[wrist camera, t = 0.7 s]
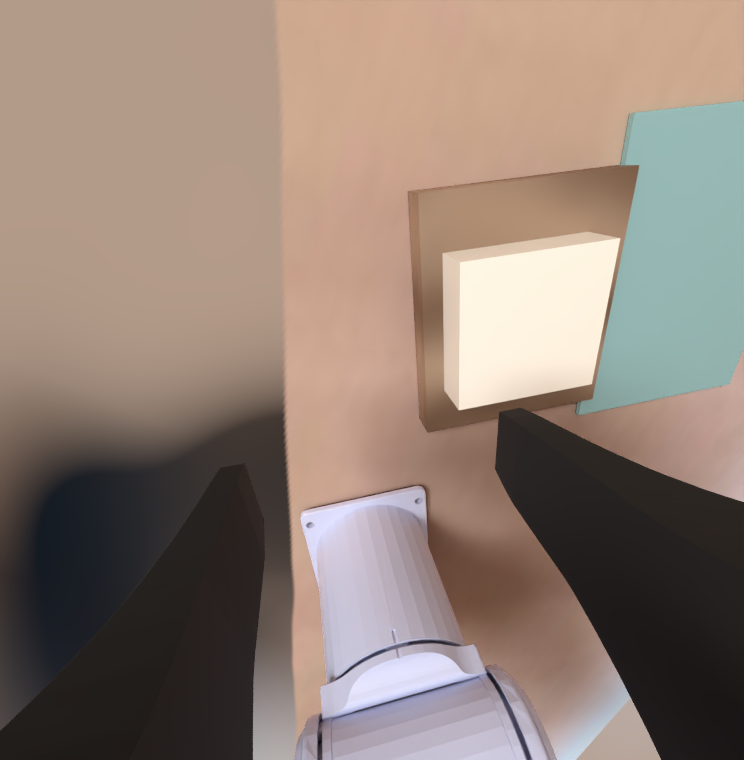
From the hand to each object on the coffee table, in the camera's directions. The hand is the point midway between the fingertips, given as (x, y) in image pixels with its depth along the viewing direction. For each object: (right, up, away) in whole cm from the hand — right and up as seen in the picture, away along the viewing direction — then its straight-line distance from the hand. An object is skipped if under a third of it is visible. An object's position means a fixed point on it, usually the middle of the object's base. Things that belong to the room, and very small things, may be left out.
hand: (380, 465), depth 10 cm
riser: (+7, +6, +10) cm, 14 cm away
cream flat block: (+7, +5, +9) cm, 12 cm away
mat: (+17, +8, +12) cm, 22 cm away
